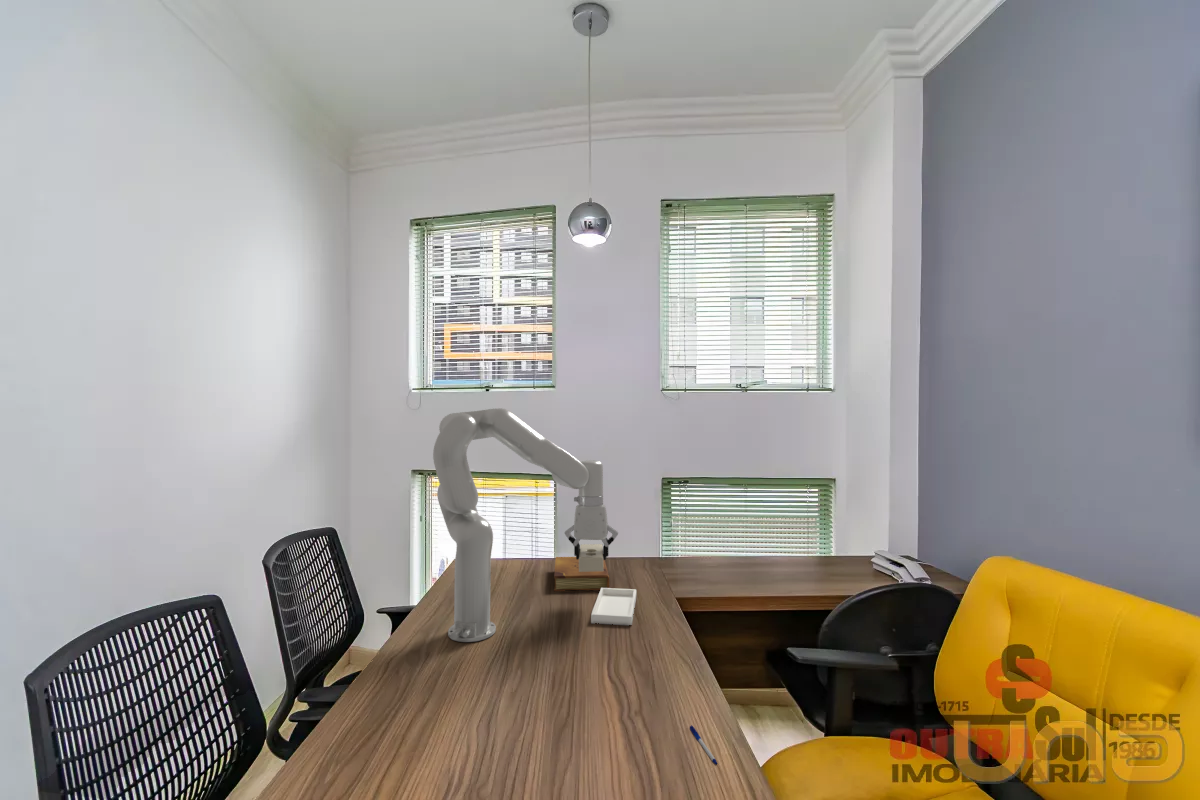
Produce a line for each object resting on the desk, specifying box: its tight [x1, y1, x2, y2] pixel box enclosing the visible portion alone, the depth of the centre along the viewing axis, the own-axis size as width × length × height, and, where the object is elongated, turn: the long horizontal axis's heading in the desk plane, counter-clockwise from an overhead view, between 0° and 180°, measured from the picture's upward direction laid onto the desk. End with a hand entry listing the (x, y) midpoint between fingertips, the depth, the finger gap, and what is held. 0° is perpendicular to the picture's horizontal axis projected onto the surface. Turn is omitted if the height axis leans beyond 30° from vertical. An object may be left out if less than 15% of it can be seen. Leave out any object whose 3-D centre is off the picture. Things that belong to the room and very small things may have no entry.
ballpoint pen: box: [689, 724, 718, 765], centre depth 92 cm, size 10×1×1 cm, turn 16°
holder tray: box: [590, 587, 637, 626], centre depth 156 cm, size 23×12×2 cm, turn 173°
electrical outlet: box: [579, 543, 604, 572], centre depth 158 cm, size 7×4×18 cm
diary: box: [553, 556, 610, 592], centre depth 184 cm, size 23×19×6 cm
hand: (591, 558), depth 157 cm, fingers closed on electrical outlet, 7 cm apart
